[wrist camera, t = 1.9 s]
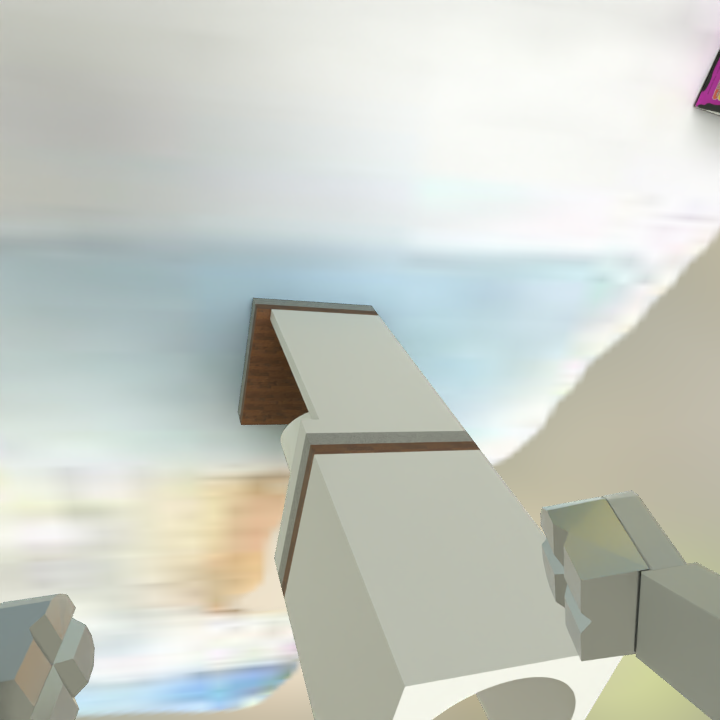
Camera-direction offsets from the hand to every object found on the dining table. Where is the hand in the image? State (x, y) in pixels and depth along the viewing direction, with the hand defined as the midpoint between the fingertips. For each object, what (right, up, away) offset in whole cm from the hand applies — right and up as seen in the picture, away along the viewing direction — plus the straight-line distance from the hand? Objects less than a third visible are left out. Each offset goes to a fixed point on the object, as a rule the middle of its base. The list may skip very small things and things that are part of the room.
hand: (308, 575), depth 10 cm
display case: (-4, +4, +45) cm, 46 cm away
